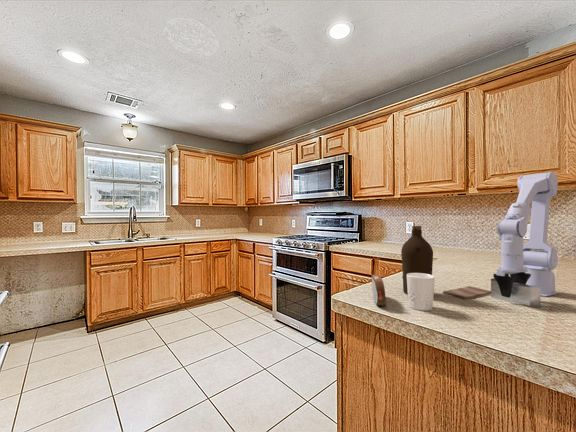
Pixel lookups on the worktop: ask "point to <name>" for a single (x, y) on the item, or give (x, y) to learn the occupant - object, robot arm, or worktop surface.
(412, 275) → the white cup
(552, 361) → the worktop surface
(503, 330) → the worktop surface
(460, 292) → the walnut board
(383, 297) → the tin
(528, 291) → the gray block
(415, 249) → the olive oil
